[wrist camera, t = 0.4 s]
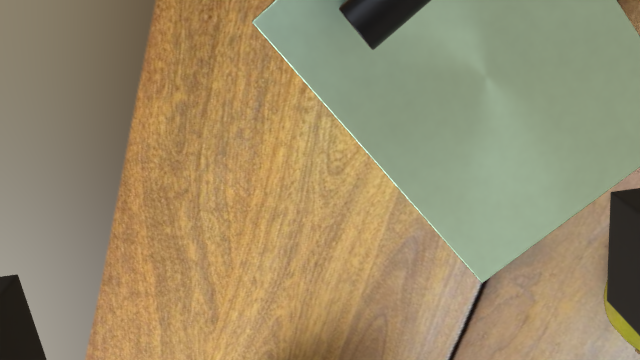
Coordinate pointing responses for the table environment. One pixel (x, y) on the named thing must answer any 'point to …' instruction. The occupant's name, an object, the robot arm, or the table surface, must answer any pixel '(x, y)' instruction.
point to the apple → (621, 324)
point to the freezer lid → (477, 106)
